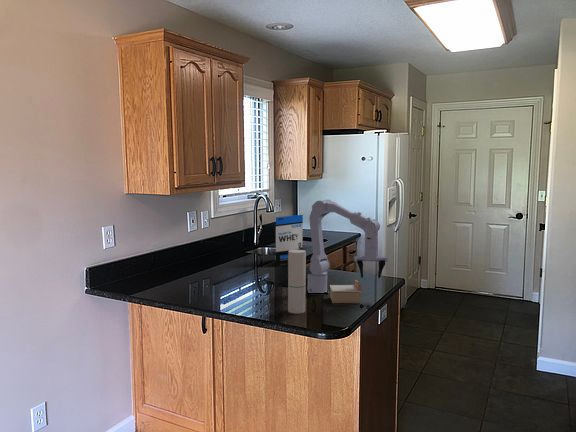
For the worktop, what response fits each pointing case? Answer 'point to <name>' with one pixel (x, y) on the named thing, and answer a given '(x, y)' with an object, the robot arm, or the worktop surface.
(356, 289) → the mailer lid
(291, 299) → the cylindrical container
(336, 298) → the box
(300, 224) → the protein powder
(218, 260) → the worktop surface
